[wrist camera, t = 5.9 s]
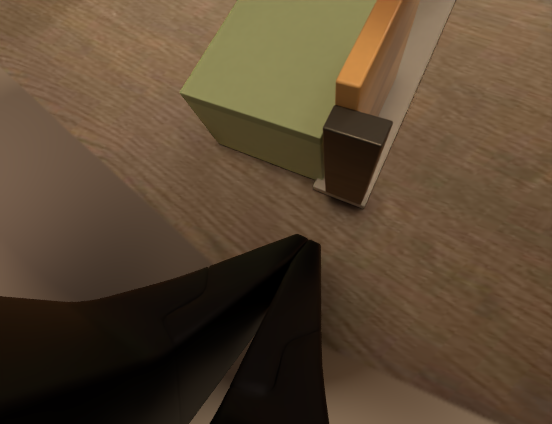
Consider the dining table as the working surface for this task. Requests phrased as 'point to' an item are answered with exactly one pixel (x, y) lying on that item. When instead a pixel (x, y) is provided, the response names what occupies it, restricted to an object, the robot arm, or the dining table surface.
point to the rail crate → (297, 77)
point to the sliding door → (365, 100)
